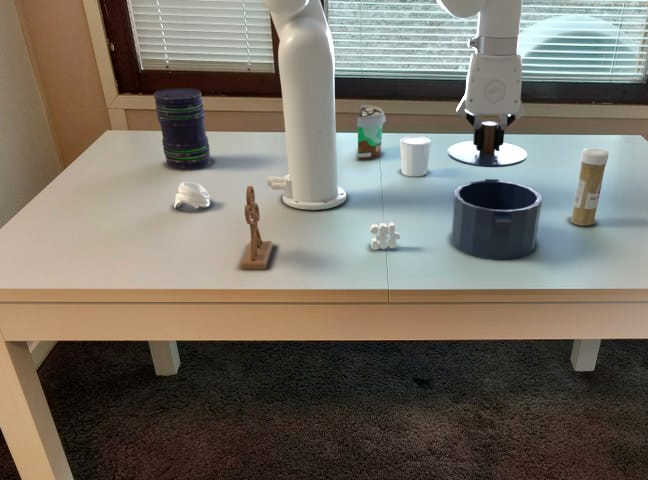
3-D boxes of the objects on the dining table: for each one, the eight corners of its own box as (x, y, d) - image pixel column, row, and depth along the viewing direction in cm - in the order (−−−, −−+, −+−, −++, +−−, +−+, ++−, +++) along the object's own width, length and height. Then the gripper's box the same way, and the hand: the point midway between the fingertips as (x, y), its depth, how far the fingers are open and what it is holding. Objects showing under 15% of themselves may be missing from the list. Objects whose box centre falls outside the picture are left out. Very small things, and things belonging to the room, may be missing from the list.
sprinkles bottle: (593, 228, 120) (608, 156, 113) (568, 224, 121) (581, 153, 114) (595, 219, 124) (609, 148, 116) (570, 216, 125) (583, 145, 117)
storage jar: (192, 153, 151) (181, 85, 143) (220, 162, 147) (211, 92, 138) (156, 164, 145) (143, 93, 136) (185, 173, 140) (173, 101, 132)
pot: (454, 265, 106) (458, 216, 101) (449, 218, 123) (452, 174, 118) (543, 268, 106) (551, 219, 101) (525, 220, 123) (532, 176, 118)
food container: (384, 163, 149) (384, 118, 143) (357, 162, 149) (357, 117, 143) (386, 147, 159) (386, 104, 153) (361, 146, 159) (360, 104, 153)
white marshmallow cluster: (370, 249, 110) (370, 225, 108) (370, 246, 112) (370, 222, 109) (399, 249, 111) (400, 225, 108) (399, 246, 112) (399, 221, 109)
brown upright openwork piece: (250, 245, 111) (242, 177, 104) (273, 246, 111) (266, 177, 104) (240, 269, 103) (231, 197, 97) (265, 269, 103) (257, 197, 97)
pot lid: (449, 169, 122) (451, 134, 118) (445, 145, 134) (447, 112, 131) (531, 171, 121) (536, 135, 118) (520, 146, 134) (524, 113, 130)
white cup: (426, 178, 141) (428, 146, 137) (396, 175, 142) (396, 143, 138) (431, 168, 146) (433, 137, 142) (402, 166, 147) (402, 134, 143)
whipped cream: (179, 202, 128) (172, 178, 126) (213, 198, 129) (207, 174, 126) (173, 215, 122) (166, 189, 119) (209, 210, 122) (203, 185, 120)
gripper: (452, 49, 113) (446, 153, 124) (545, 51, 113) (531, 155, 124) (450, 42, 120) (445, 142, 130) (538, 43, 119) (526, 144, 130)
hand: (487, 148), depth 127 cm, fingers closed on pot lid, 3 cm apart
